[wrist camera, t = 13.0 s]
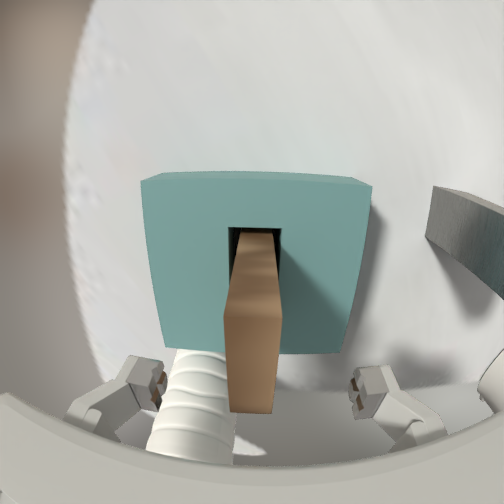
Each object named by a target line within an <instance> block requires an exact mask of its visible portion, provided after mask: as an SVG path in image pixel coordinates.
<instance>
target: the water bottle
mask: <svg viewBox="0 0 504 504" xmlns="http://www.w3.org/2000/svg"><path fill="white" fill-rule="evenodd" d="M235 426H236V413H232V412H230V409H229V397H228V384H227V370H226V355H225V352H211V351H198V350H187V349H178V351H177V354H176V357H175V360H174V364H173V367H172V369H171V372H170V375H169V379H168V383H167V389H166V392H165V394H163V397H162V403H161V406H160V409H159V412H158V414H157V416H156V418H155V420H154V423H153V427H152V434H151V435H150V437H149V440H148V442H147V446H146V450H147V451H151V452H155V453H159V454H164V455H169V456H174V457H179V458H184V459H190V460H196V461H203V462H211V463H220V464H230V465H232V464H233V453H232V451H233V448H234V440H235V433H234V430H235Z"/></svg>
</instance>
